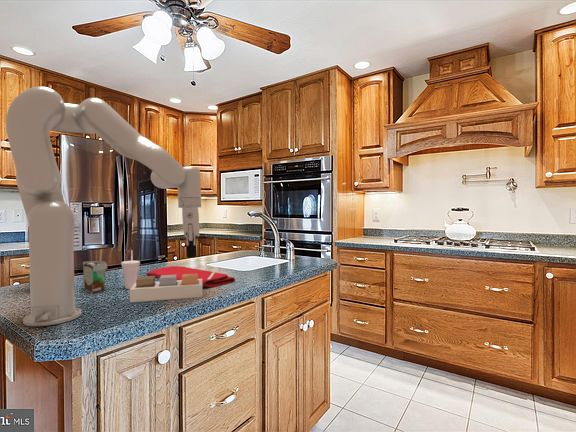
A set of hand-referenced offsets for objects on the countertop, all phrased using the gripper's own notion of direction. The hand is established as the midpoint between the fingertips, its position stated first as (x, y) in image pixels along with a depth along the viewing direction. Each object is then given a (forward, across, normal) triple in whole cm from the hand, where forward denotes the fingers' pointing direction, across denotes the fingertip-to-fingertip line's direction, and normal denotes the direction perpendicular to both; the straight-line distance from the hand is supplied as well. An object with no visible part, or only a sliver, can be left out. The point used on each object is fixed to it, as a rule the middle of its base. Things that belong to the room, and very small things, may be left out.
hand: (191, 256), depth 111 cm
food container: (+12, +16, +33) cm, 39 cm away
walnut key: (+9, 0, +15) cm, 17 cm away
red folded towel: (+14, +26, +2) cm, 30 cm away
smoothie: (+13, +16, +22) cm, 30 cm away
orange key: (+9, 0, +1) cm, 9 cm away
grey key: (+9, 0, +8) cm, 12 cm away
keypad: (+12, 0, +8) cm, 15 cm away
